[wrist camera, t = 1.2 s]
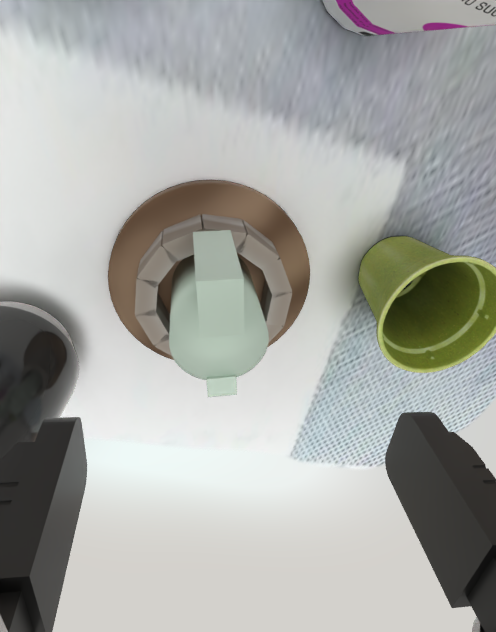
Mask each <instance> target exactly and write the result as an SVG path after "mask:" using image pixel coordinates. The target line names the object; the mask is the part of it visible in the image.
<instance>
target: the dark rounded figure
mask: <svg viewBox="0 0 496 632" xmlns="http://www.w3.org/2000/svg"><path fill="white" fill-rule="evenodd" d="M78 375H79V361H78V357H77V354H76V351H75V349H74V345H73V342H72V340H71V338H70V336H69V334H68V332H67V331H66V329H65V328H64V327H63V325H62V324H61V323H60V322H59V321H58V320H57V319H55V318H54V317H53V316H52V315H50V314H49V313H47V312H45V311H44V310H42V309H40V308H37V307H35V306H32V305H28V304H25V303H19V302H0V460H1V459H2V458H3V457H4V456H5V455H6V454H7V453H8V452H9V451H10V450H11V449H12V448H13V447H14V446H15V445H16V444H17V443H18V442H35V439H36V437H37V434H38V432H39V429H40V426H41V424H42V422H43V420H44V419H45V418H60V416H61V414H62V413H63V411H64V409H65V407H66V405H67V404H68V402H69V400H70V398H71V396H72V394H73V391H74V389H75V386H76V383H77V379H78Z"/></svg>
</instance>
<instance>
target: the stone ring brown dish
mask: <svg viewBox="0 0 496 632" xmlns="http://www.w3.org/2000/svg"><path fill="white" fill-rule="evenodd" d="M220 230H231V234H232V238H233V241H234V245H235V248H236V252H237V256H238V257H240V258H241V259H242V260H243V261H244V263H245V264H246V265H247V267H248V269H249V271H250V274H251V277H252V280H253V283H254V287H255V290H256V293H257V296H258V300H259V303H260V306H261V309H262V312H263V316H264V319H265V322H266V325H267V329H268V334H269V340H268V346H267V347H269V346H270V345H271V344H273V343H274V342H275V341H277V340H278V339H279V338H280V337H281V336H282V335H283V334H284V333H285V332H286V331H287V330H288V329H289V327H290V326H291V325H292V324H293V322H294V321H295V319H296V318H297V316H298V315H299V313H300V311H301V309H302V307H303V305H304V302H305V299H306V296H307V292H308V287H309V280H310V266H309V258H308V254H307V250H306V247H305V244H304V242H303V239H302V237H301V235H300V233H299V231H298V230H297V228H296V226H295V225H294V223H293V222H292V220H291V219H290V218H289V217H288V215H287V214H286V213H285V212H284V210H282V209H281V208H280V207H279V206H278V205H277V204H276V203H275V202H274V201H272V200H271V199H269V198H268V197H267V196H265V195H264V194H262V193H260V192H258V191H256V190H254V189H252V188H249V187H247V186H244V185H241V184H238V183H233V182H228V181H221V180H199V181H192V182H187V183H182V184H179V185H176V186H173V187H170V188H168V189H166V190H164V191H162V192H160V193H158V194H156V195H154V196H153V197H151V198H150V199H148V200H147V201H145V202H144V203H143V204H142V205H141V206H140V207H139V208H138V209H136V210H135V211H134V212H133V214H132V215H131V216H130V217H129V219H128V220H127V221H126V222H125V224H124V226H123V227H122V229H121V231H120V232H119V234H118V237H117V239H116V242H115V244H114V247H113V250H112V253H111V258H110V262H109V271H108V282H109V291H110V295H111V300H112V302H113V305H114V308H115V310H116V312H117V314H118V316H119V318H120V320H121V321H122V323H123V324H124V325H125V327H126V328H127V329H128V331H129V332H130V333H131V334H132V335H133V336H134V337H135V338H136V339H137V340H138V341H140V342H141V343H142V344H144V345H145V346H146V347H148V348H149V349H151V350H153V351H154V352H156V353H158V354H160V355H162V356H164V357H167V358H170V359H173V360H174V358H173V357H172V354H171V351H170V347H169V332H170V309H171V285H172V277H173V274H174V271H175V269H176V267H177V266H178V264H179V263H180V262H181V261H182V260H183V259H184V258H187V257H189V256H191V255H194V244H193V232H201V231H220Z"/></svg>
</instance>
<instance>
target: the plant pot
mask: <svg viewBox="0 0 496 632" xmlns="http://www.w3.org/2000/svg"><path fill="white" fill-rule="evenodd" d="M358 279H359V284H360V287H361V289H362V291H363V293H364V295H365V297H366V299H367V301H368V304H369V306H370V308H371V310H372V312H373V314H374V317H375V319H376V321H377V340H378V344H379V347H380V349H381V351H382V353H383V354H384V356H385V357H386V358H387V359H388V360H389V361H390V362H391V363H392V364H393V365H395V366H397V367H398V368H400V369H403V370H407V371H411V372H416V373H428V372H436V371H440V370H444V369H446V368H449V367H453V366H455V365H457V364H459V363H462V362H463V361H465V360H467V359H468V358H470V357H471V356H472V355H474V354H475V353H477V352H478V351H479V350H480V349H482V348H483V347H484V346H485V345H486V343H487V342H488V341H489V340H490V339H491V338H492V337H493V336H494V335H495V333H496V268H495V267H494V266H493V265H491V264H489V263H488V262H486V261H484V260H482V259H479V258H476V257H471V256H454V255H449V254H447V253H445V252H442V251H440V250H438V249H435V248H433V247H431V246H429V245H427V244H425V243H423V242H420V241H418V240H416V239H414V238H411V237H407V236H399V237H389V238H386V239H384V240H382V241H380V242H378V243H377V244H376V245H374V246H373V247H372V248H371V249H370V250H369V251H368V252H367V253H366V255H365V256H364V258H363V259H362V262H361V266H360V272H359V278H358ZM411 281H412V283H411V284H410V285H409V286H408V287H407V288H405V289H404V290H403V288H404V287H405V286H406V285H407V284H409V283H410V282H411Z"/></svg>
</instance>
